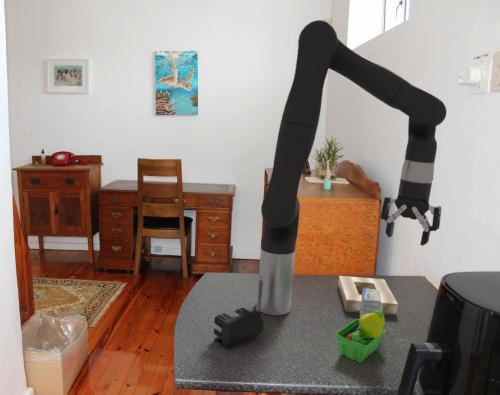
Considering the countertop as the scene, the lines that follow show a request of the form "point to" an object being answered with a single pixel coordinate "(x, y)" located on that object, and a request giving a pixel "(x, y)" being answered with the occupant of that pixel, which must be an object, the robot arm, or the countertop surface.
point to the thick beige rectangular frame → (353, 293)
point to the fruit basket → (362, 336)
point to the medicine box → (369, 301)
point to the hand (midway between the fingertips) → (406, 240)
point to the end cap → (238, 327)
